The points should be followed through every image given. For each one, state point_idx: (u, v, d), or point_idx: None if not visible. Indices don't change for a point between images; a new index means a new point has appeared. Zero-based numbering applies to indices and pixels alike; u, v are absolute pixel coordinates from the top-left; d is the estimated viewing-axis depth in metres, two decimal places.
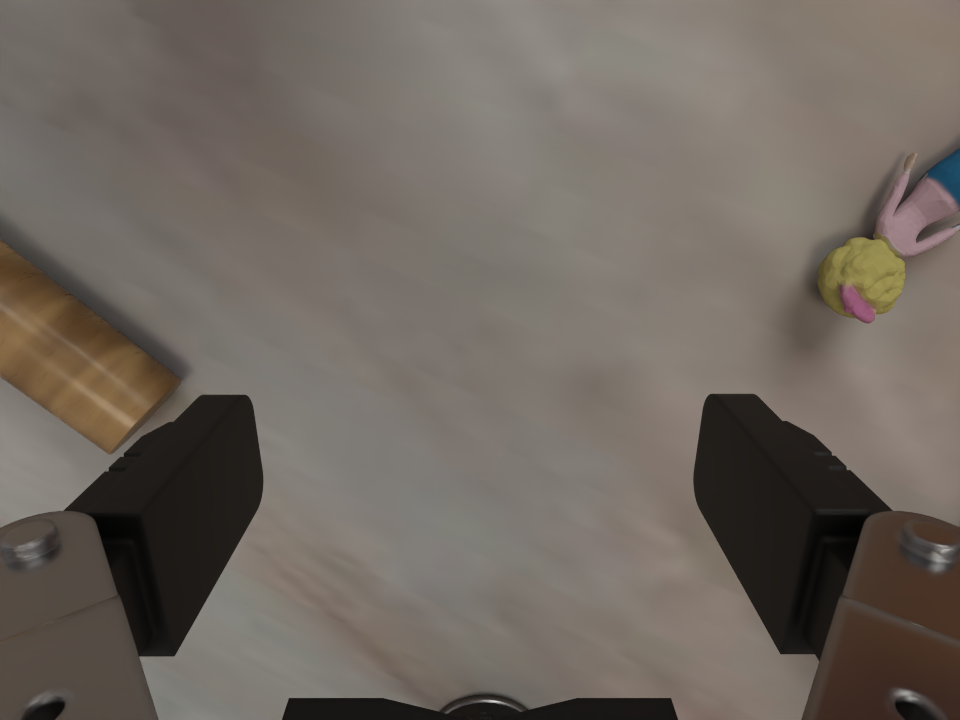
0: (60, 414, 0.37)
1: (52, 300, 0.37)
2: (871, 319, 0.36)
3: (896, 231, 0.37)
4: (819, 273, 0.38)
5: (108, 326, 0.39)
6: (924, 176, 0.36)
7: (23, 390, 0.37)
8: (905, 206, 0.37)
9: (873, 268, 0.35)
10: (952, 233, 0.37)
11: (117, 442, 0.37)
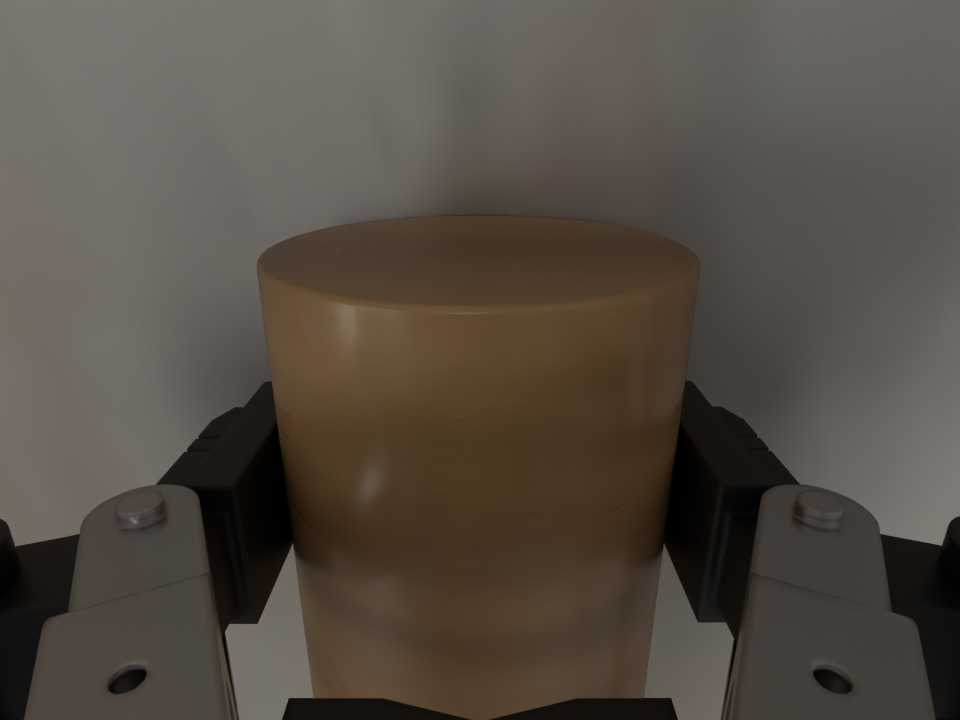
0: (586, 571, 0.08)
1: None
2: None
3: None
4: None
5: None
6: None
7: None
8: None
9: None
10: None
11: (512, 313, 0.06)
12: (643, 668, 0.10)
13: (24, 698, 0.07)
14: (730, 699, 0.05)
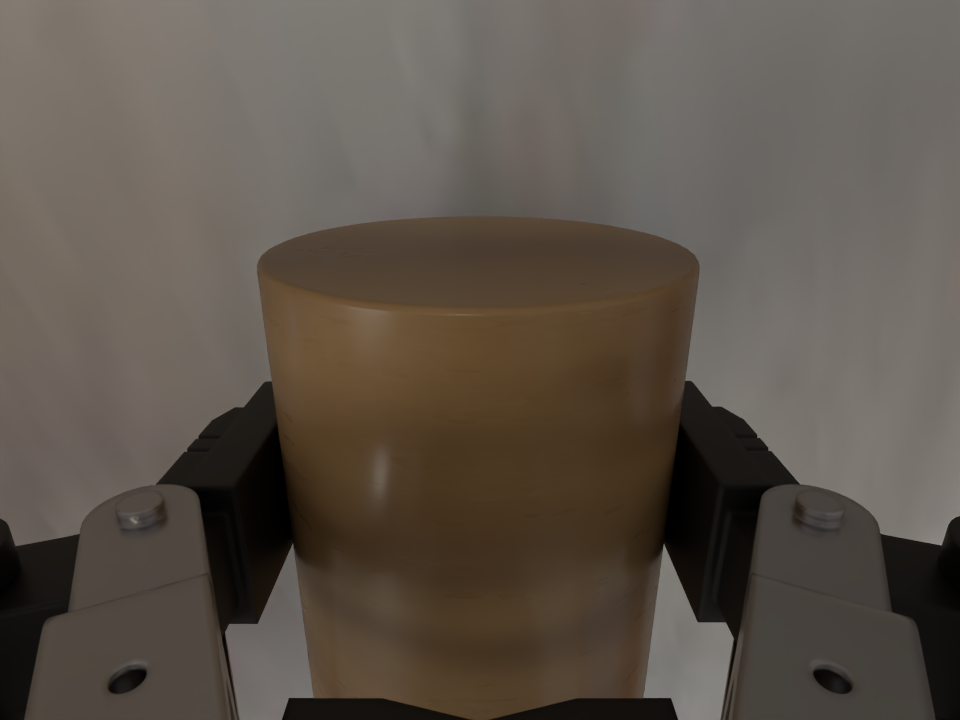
0: (586, 572, 0.08)
1: None
2: None
3: None
4: None
5: None
6: None
7: None
8: None
9: None
10: None
11: (512, 315, 0.06)
12: (643, 669, 0.10)
13: (24, 698, 0.07)
14: (730, 699, 0.05)
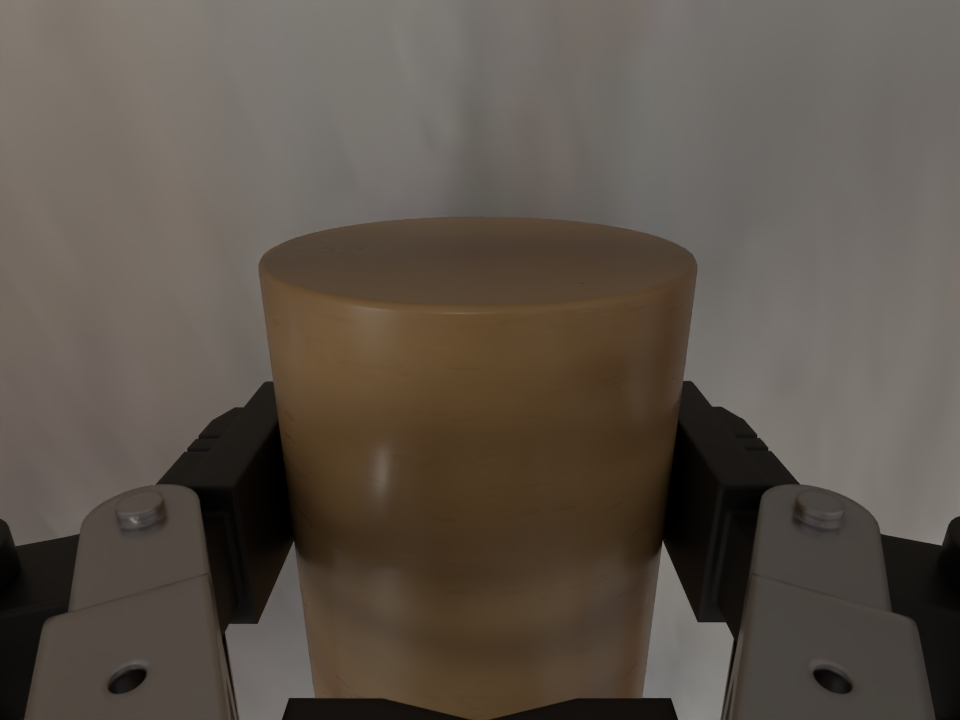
0: (585, 569, 0.08)
1: None
2: None
3: None
4: None
5: None
6: None
7: None
8: None
9: None
10: None
11: (512, 313, 0.06)
12: (642, 666, 0.10)
13: (24, 697, 0.07)
14: (730, 699, 0.05)
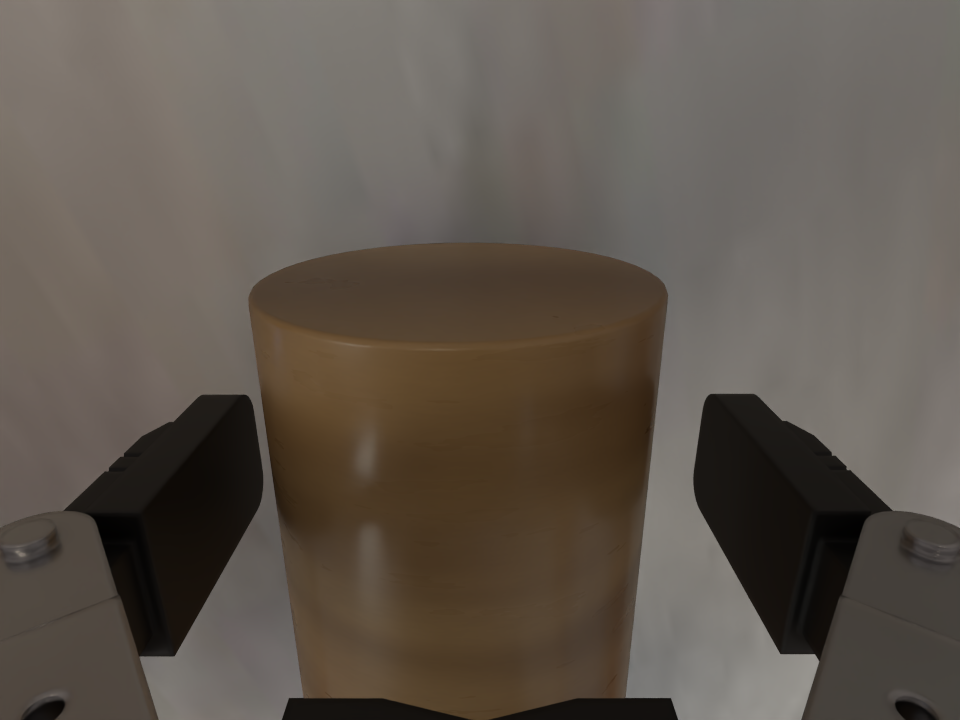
0: (564, 588, 0.08)
1: None
2: None
3: None
4: None
5: None
6: None
7: None
8: None
9: None
10: None
11: (488, 349, 0.07)
12: (622, 678, 0.10)
13: None
14: None
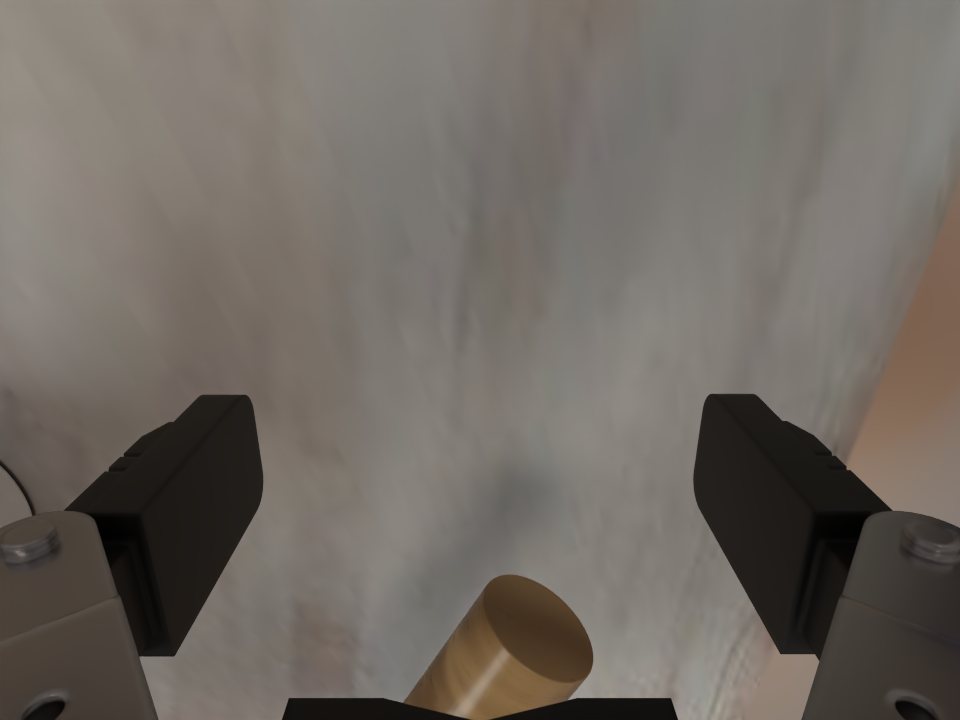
0: None
1: None
2: None
3: None
4: None
5: (434, 659, 0.32)
6: None
7: None
8: None
9: None
10: None
11: (551, 681, 0.27)
12: None
13: None
14: None
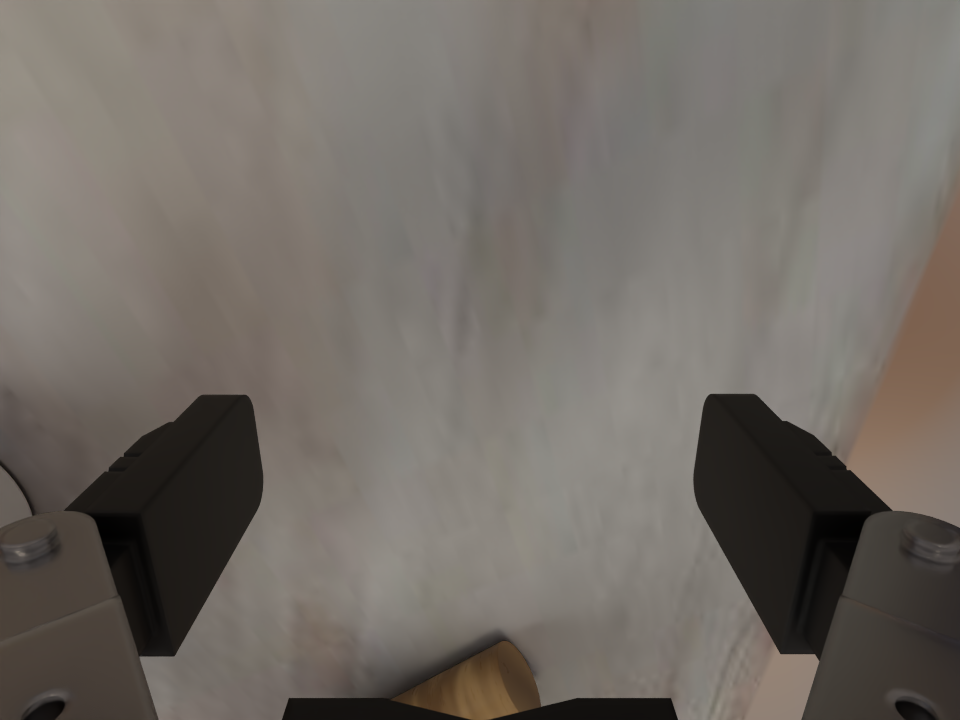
0: None
1: None
2: None
3: None
4: None
5: (442, 676, 0.49)
6: None
7: None
8: None
9: None
10: None
11: None
12: None
13: None
14: None
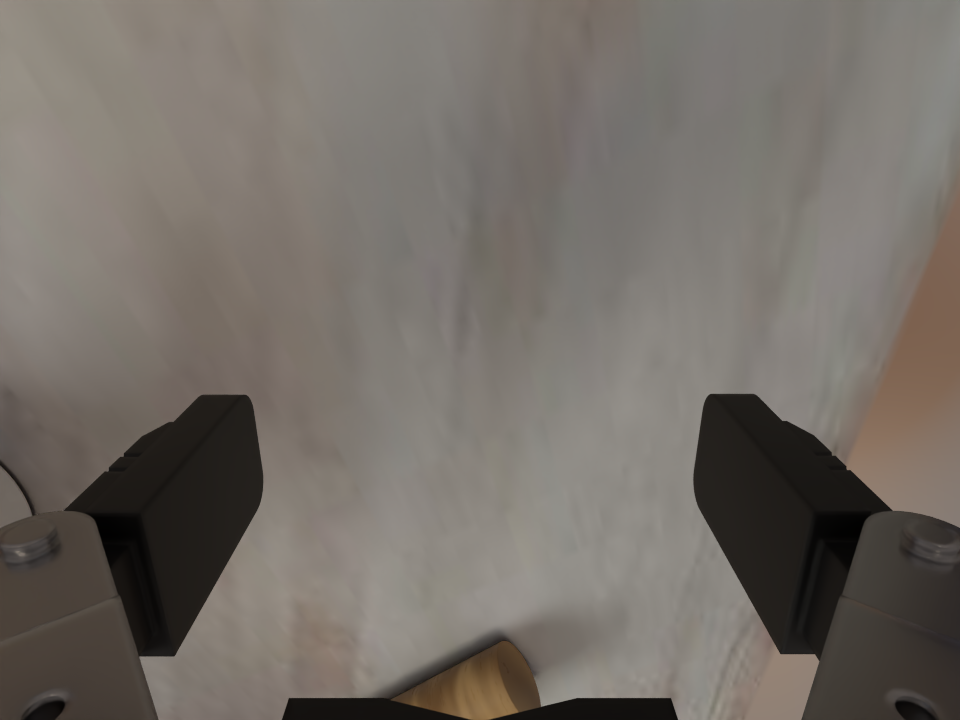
0: None
1: None
2: None
3: None
4: None
5: (442, 676, 0.49)
6: None
7: None
8: None
9: None
10: None
11: None
12: None
13: None
14: None
